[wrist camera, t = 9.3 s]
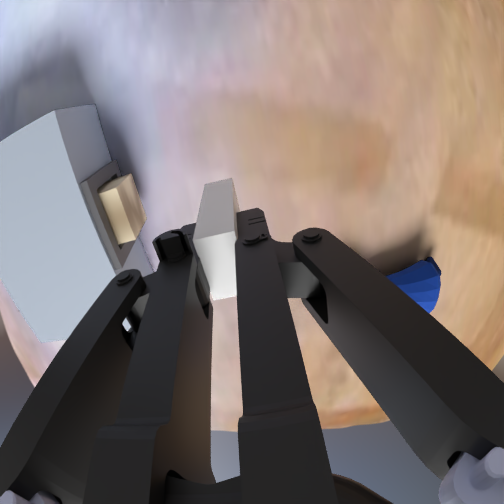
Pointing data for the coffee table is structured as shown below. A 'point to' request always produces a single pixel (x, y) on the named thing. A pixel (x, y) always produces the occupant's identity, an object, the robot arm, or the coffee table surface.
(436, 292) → the toy
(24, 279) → the sleeve block
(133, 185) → the peg
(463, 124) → the coffee table surface
